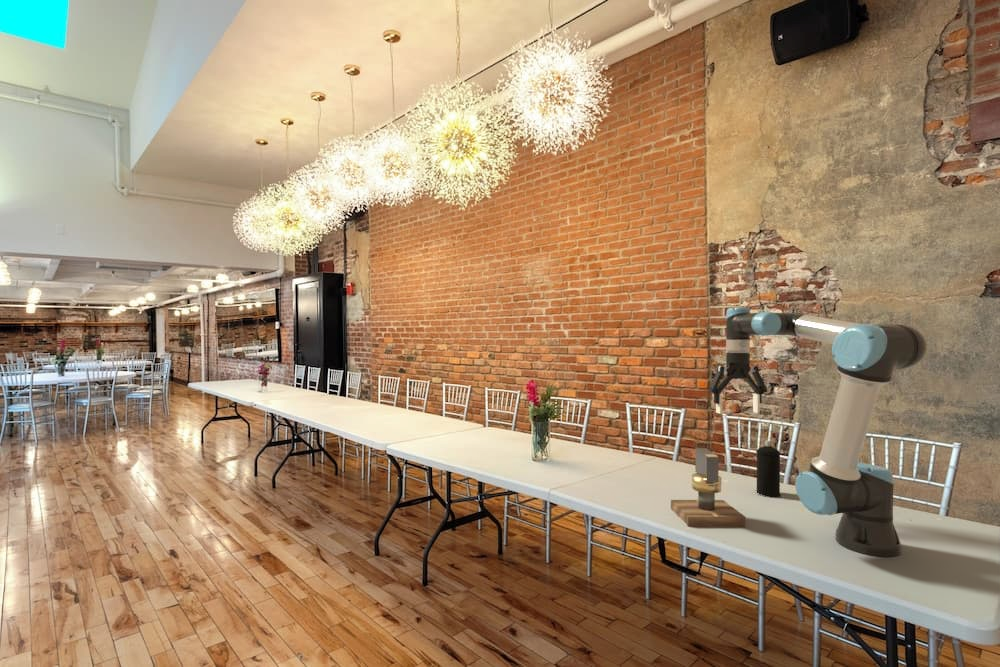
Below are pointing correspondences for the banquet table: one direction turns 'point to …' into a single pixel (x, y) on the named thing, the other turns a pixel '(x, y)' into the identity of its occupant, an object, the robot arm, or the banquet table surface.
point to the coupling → (706, 472)
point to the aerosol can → (768, 470)
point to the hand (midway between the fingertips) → (737, 413)
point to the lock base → (707, 511)
